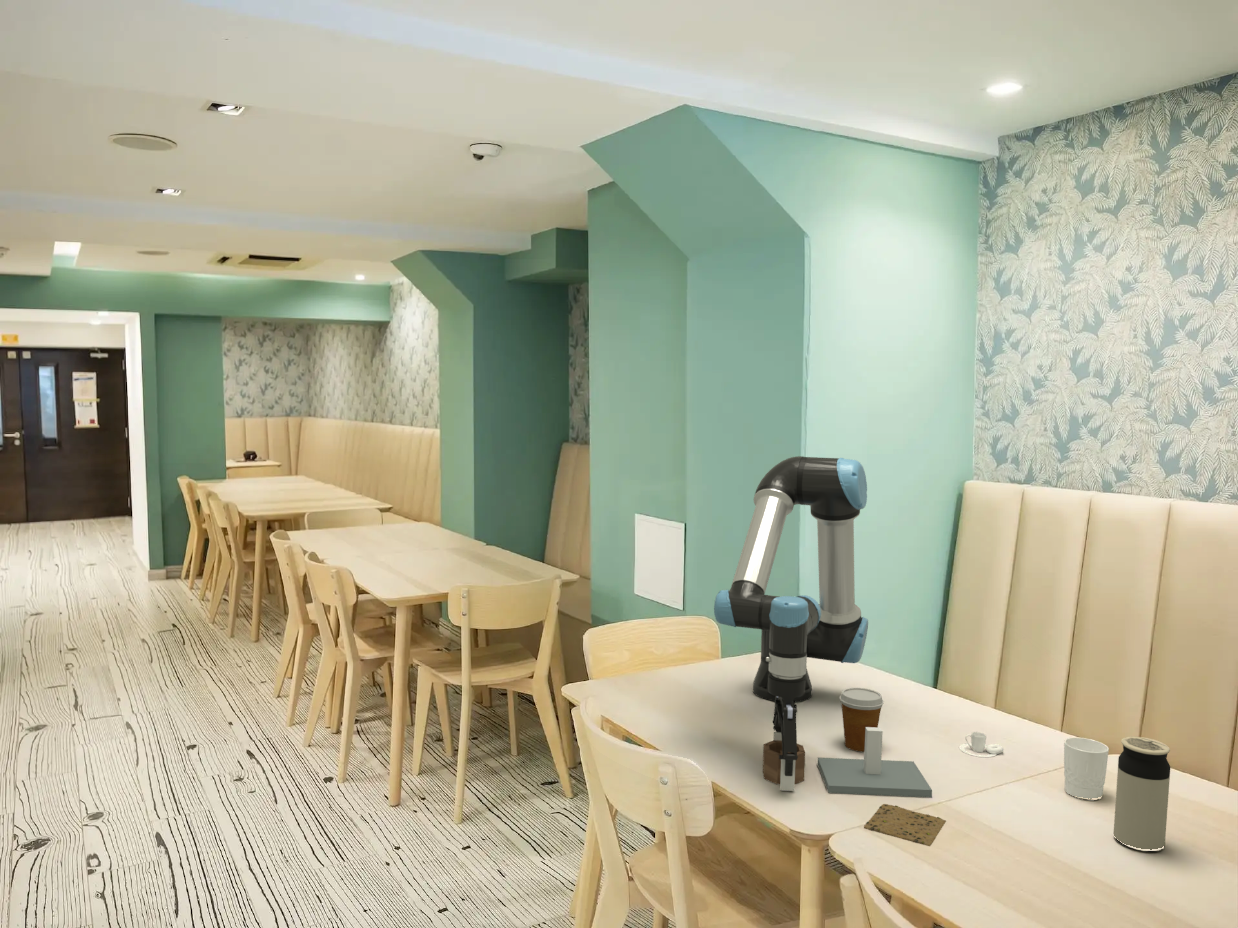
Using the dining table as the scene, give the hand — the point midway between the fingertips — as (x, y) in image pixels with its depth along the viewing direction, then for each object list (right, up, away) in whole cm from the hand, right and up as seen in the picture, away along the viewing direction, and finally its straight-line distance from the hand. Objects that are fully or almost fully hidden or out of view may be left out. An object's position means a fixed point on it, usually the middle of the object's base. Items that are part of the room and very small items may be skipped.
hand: (783, 775), depth 190 cm
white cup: (+59, -2, -5) cm, 59 cm away
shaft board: (+18, -1, -1) cm, 18 cm away
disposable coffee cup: (+20, +1, +17) cm, 26 cm away
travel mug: (+59, -4, -25) cm, 64 cm away
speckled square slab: (+19, -3, -20) cm, 27 cm away
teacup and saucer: (+47, -1, +13) cm, 49 cm away
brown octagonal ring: (0, 0, 0) cm, 0 cm away
